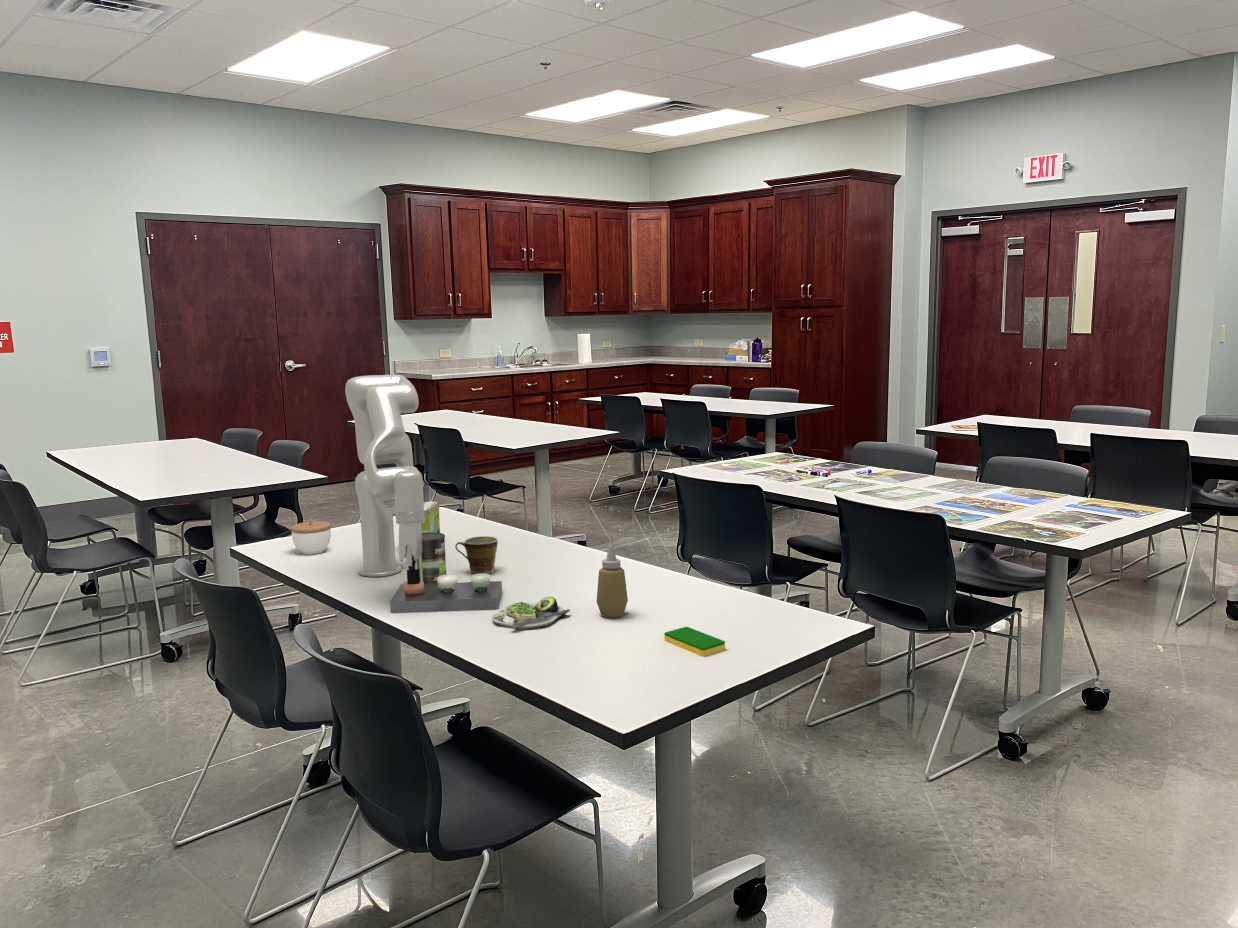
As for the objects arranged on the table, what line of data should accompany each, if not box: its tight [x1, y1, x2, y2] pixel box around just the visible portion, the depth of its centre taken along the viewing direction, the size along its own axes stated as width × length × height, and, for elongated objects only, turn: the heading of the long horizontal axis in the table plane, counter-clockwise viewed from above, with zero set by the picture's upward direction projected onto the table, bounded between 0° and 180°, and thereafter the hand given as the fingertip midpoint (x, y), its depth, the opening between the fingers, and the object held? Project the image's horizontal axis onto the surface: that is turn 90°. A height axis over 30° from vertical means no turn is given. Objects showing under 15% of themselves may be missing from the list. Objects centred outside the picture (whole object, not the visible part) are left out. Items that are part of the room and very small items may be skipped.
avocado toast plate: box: [491, 596, 571, 630], centre depth 235 cm, size 19×18×5 cm
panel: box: [389, 580, 503, 614], centre depth 252 cm, size 16×28×3 cm, turn 93°
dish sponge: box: [663, 626, 726, 657], centre depth 215 cm, size 7×14×2 cm, turn 37°
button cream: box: [437, 574, 458, 593], centre depth 251 cm, size 5×5×5 cm
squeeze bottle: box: [596, 545, 629, 619], centre depth 237 cm, size 8×8×18 cm
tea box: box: [421, 501, 441, 533], centre depth 311 cm, size 15×10×15 cm
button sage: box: [470, 573, 491, 592], centre depth 252 cm, size 5×5×5 cm
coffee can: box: [419, 532, 447, 584], centre depth 269 cm, size 10×10×14 cm
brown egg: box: [403, 581, 424, 594], centre depth 251 cm, size 5×5×5 cm
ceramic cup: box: [455, 535, 499, 575], centre depth 280 cm, size 13×10×10 cm
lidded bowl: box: [290, 519, 332, 556], centre depth 309 cm, size 13×13×11 cm
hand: (414, 583), depth 250 cm, fingers closed
